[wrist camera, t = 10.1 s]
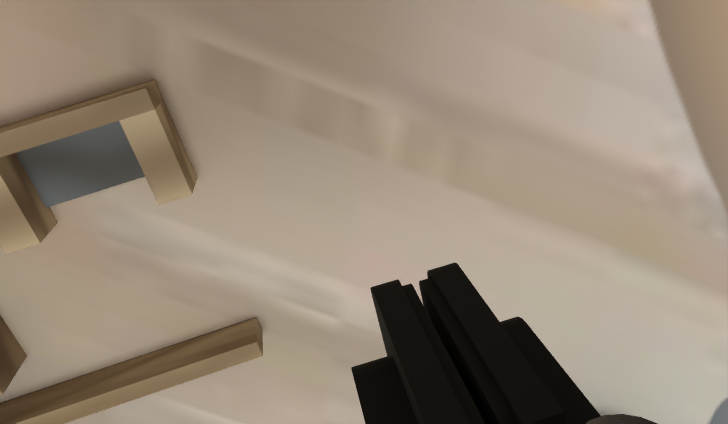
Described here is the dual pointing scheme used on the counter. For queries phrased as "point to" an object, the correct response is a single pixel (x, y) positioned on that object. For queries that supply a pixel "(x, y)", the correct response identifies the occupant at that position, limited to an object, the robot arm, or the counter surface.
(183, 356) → the trap box
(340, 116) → the counter surface
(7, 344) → the walnut block
